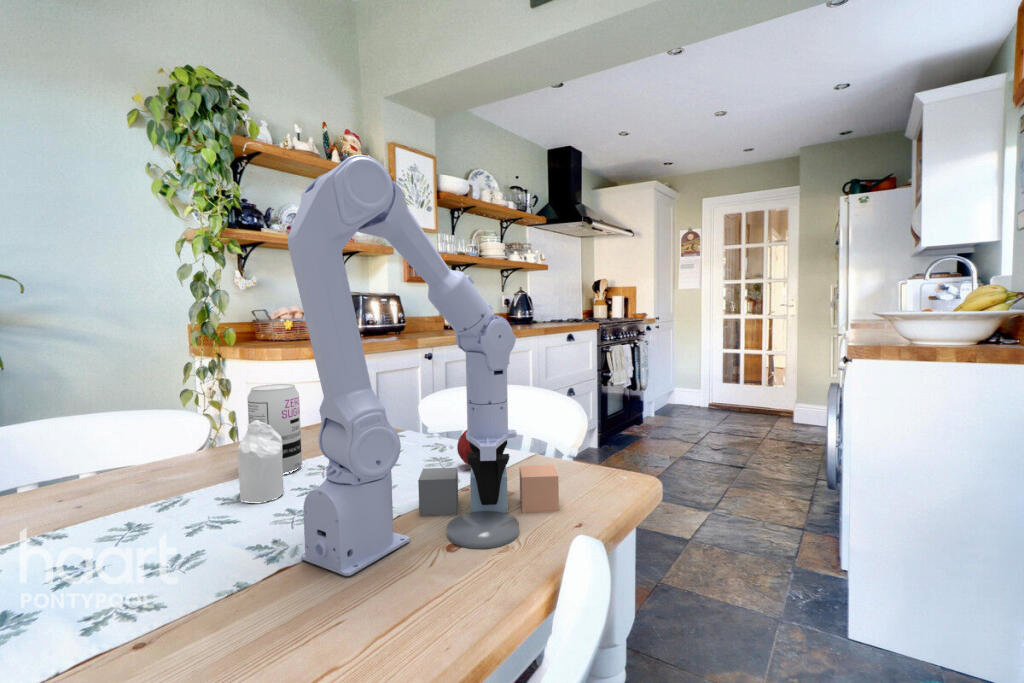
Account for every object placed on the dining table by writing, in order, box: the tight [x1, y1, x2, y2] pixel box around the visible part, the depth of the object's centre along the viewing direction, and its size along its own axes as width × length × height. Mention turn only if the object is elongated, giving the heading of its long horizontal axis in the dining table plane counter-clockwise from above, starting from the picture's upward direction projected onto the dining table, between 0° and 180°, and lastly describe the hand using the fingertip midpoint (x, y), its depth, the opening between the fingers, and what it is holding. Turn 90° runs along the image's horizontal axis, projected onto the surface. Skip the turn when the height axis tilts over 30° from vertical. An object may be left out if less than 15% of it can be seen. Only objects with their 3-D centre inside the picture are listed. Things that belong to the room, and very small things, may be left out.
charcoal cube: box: [417, 467, 459, 517], centre depth 70 cm, size 5×5×5 cm
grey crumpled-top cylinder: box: [237, 420, 285, 502], centre depth 75 cm, size 6×12×6 cm
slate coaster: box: [446, 511, 520, 550], centre depth 62 cm, size 9×9×1 cm
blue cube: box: [469, 466, 509, 514], centre depth 70 cm, size 5×5×5 cm
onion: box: [456, 429, 472, 466], centre depth 87 cm, size 6×6×8 cm
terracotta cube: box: [519, 464, 560, 514], centre depth 70 cm, size 5×5×5 cm
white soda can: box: [246, 383, 303, 473], centre depth 87 cm, size 8×8×15 cm
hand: (489, 496), depth 70 cm, fingers closed on blue cube, 5 cm apart
